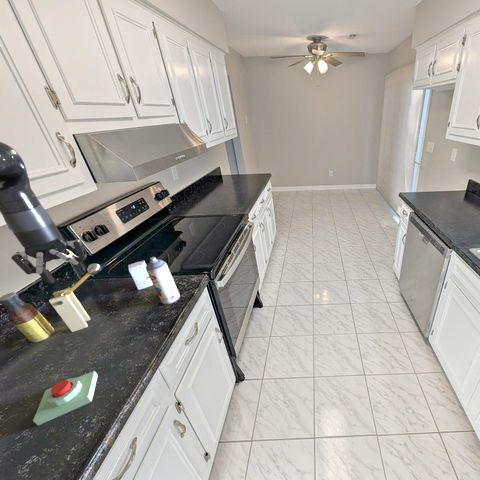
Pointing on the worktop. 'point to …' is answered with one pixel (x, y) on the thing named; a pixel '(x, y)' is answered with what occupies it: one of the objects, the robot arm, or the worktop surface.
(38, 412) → the box
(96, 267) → the lever
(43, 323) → the sauce bottle
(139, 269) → the cosmetic box
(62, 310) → the lock bracket
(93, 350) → the worktop surface
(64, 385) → the release button
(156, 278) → the aerosol can
